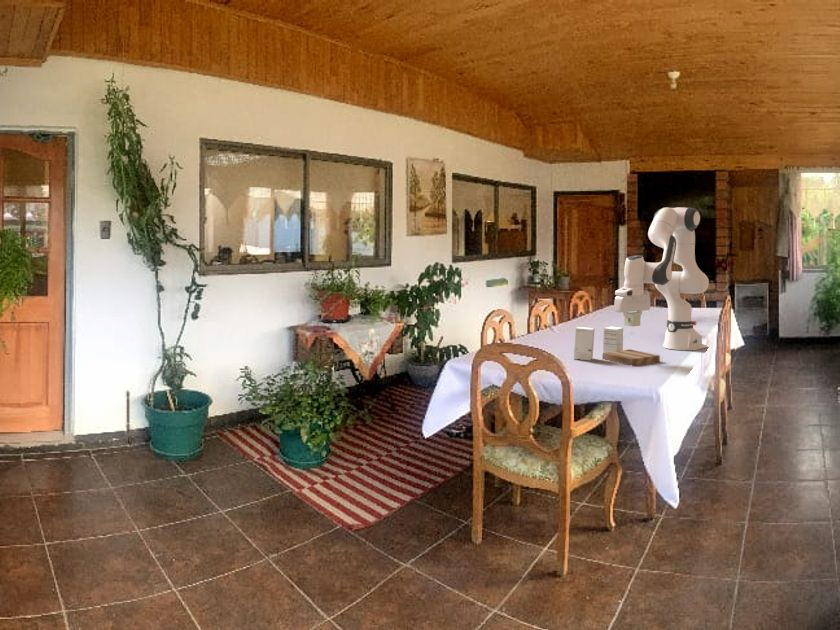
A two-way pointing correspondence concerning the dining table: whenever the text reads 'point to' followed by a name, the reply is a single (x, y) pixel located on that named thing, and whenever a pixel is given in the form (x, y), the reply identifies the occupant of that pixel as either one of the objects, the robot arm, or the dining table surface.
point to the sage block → (633, 319)
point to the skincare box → (584, 343)
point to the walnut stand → (631, 357)
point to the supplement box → (613, 339)
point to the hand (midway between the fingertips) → (632, 320)
